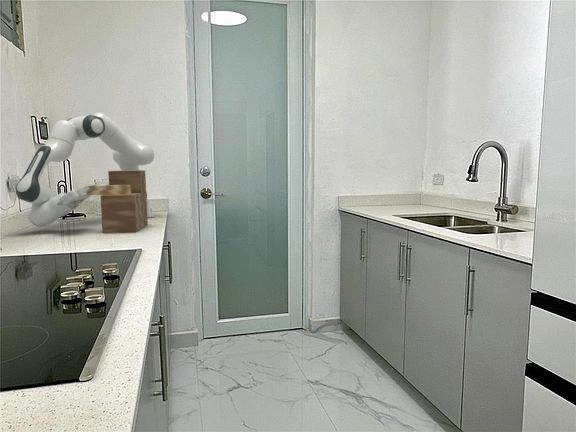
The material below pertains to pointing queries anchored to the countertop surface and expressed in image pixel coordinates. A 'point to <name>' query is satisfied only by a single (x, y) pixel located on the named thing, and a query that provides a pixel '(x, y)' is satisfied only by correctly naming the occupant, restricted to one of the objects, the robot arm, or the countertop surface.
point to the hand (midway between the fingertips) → (92, 186)
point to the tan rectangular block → (109, 190)
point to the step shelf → (125, 204)
